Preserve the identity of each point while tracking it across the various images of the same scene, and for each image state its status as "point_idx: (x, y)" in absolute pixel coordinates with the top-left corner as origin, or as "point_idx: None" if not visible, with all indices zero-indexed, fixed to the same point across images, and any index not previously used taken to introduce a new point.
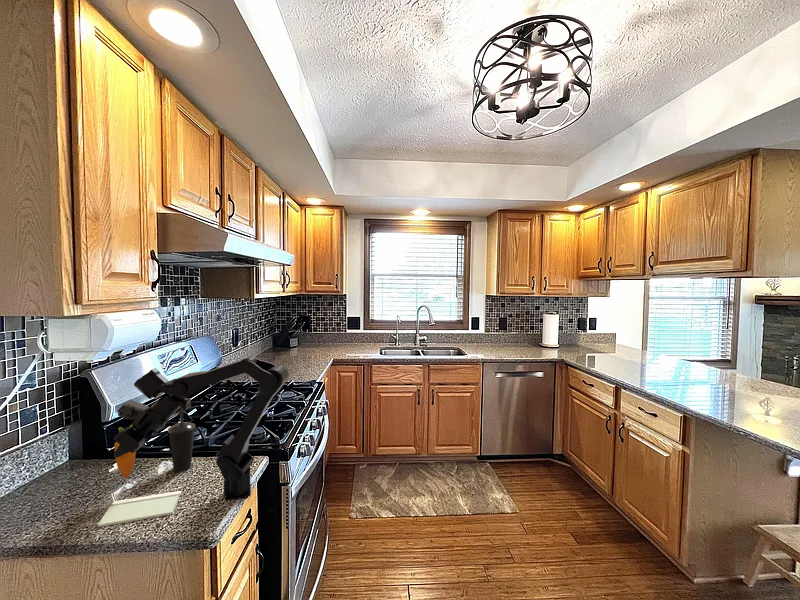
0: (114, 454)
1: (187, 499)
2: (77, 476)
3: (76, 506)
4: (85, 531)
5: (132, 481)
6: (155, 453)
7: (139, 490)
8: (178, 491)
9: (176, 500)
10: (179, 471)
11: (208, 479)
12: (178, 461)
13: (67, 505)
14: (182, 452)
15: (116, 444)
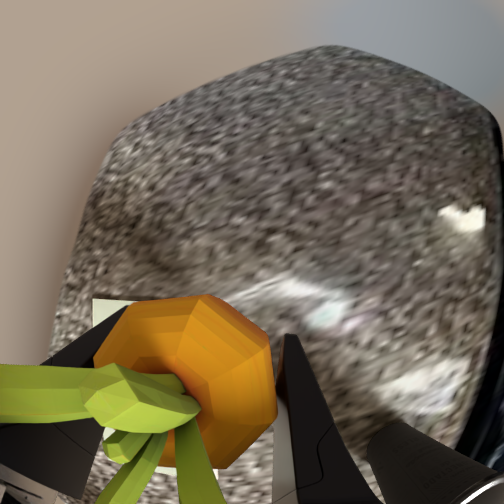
0: (118, 314)
1: (171, 488)
2: (419, 134)
3: (230, 194)
4: (90, 274)
5: (357, 314)
6: None
7: (276, 361)
8: (215, 474)
9: (158, 471)
10: (368, 448)
11: None
12: (377, 464)
13: (246, 167)
14: (383, 494)
15: (117, 324)
